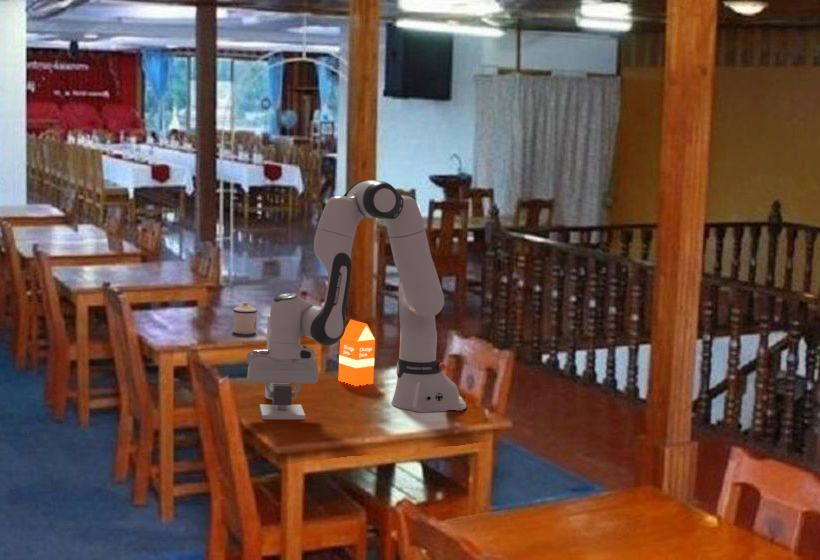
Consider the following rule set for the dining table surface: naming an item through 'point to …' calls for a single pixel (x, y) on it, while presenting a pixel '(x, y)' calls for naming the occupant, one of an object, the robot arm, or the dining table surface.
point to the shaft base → (281, 411)
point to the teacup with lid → (245, 319)
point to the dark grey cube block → (282, 394)
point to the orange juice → (357, 354)
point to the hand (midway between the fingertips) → (282, 397)
